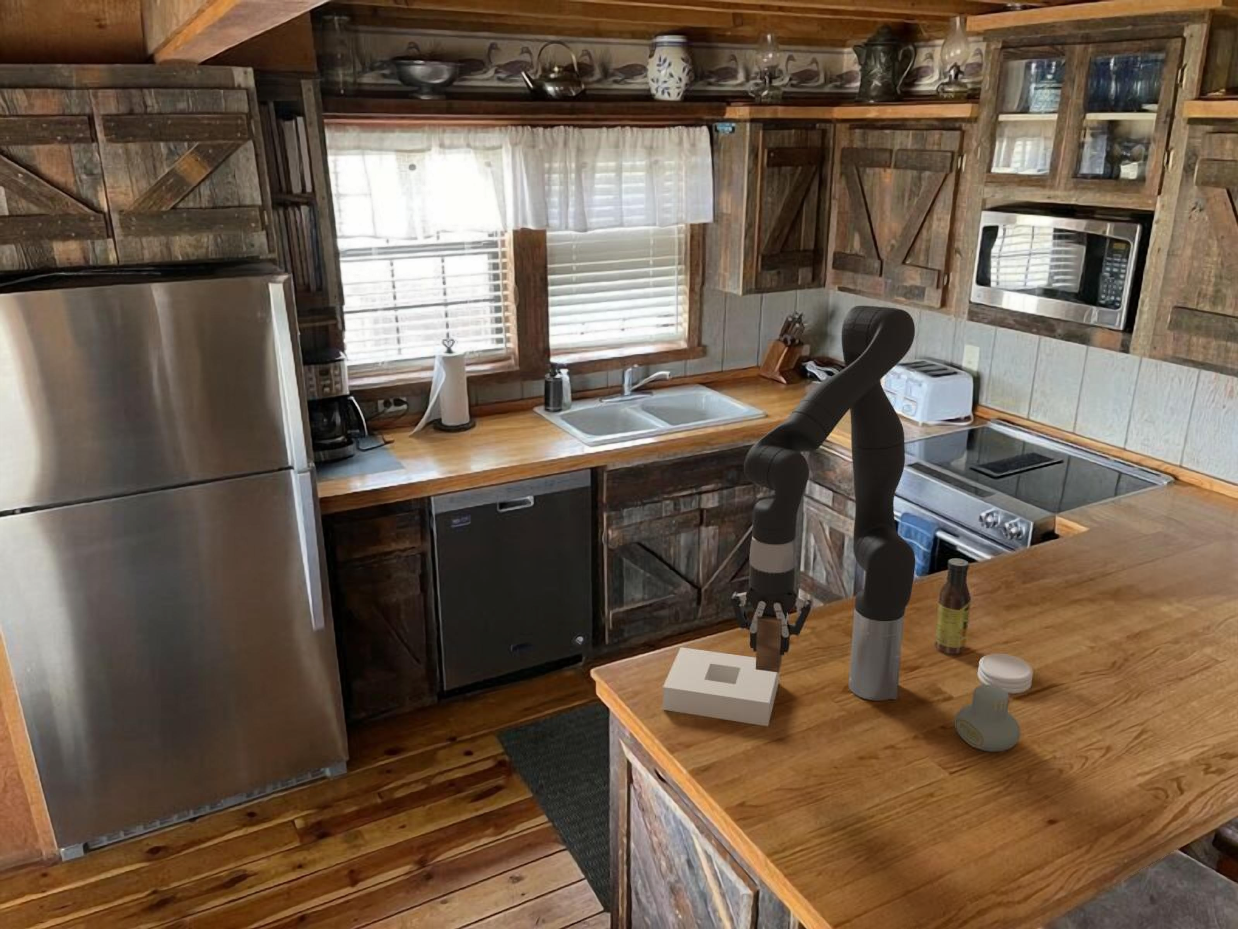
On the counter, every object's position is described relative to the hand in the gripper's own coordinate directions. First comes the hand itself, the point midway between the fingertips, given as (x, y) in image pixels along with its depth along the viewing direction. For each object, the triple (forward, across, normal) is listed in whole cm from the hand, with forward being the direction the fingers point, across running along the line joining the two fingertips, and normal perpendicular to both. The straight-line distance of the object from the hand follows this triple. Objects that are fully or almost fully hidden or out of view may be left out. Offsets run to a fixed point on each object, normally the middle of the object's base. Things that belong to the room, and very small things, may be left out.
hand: (769, 650), depth 161 cm
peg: (+3, 0, 0) cm, 3 cm away
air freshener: (+19, -38, -11) cm, 44 cm away
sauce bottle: (+19, -33, -43) cm, 57 cm away
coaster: (+20, -43, -33) cm, 57 cm away
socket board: (+19, +10, -12) cm, 25 cm away
